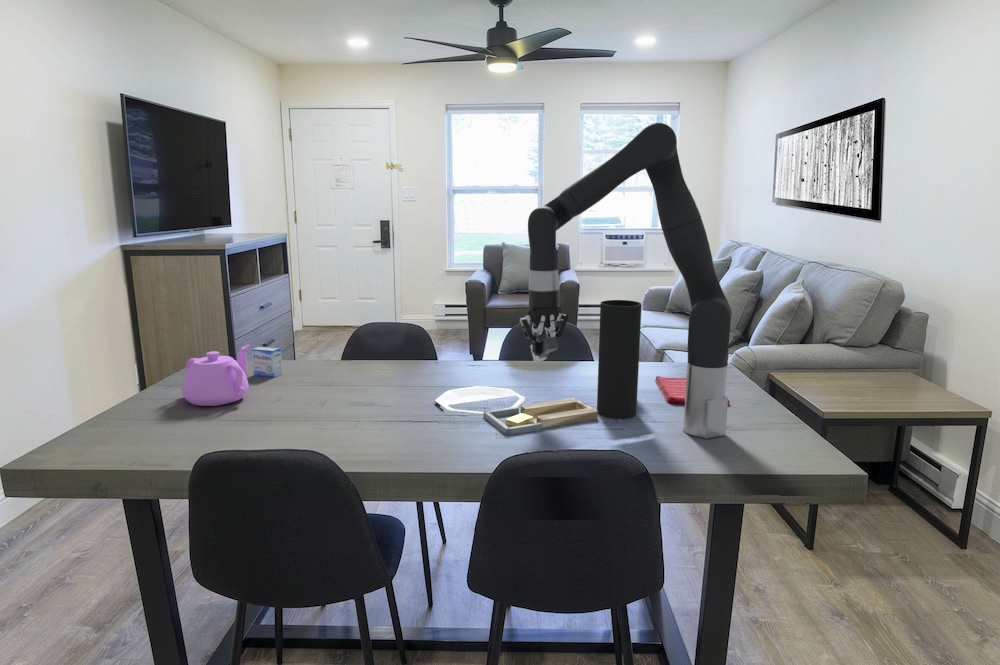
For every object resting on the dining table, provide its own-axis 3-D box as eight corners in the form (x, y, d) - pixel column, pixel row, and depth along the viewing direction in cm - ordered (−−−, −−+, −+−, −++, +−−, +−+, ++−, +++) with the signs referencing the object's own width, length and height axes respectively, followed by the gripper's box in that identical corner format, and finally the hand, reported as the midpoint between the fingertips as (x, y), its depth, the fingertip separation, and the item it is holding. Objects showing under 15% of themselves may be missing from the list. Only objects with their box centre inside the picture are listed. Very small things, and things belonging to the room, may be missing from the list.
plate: (425, 398, 188) (425, 393, 188) (499, 387, 199) (499, 382, 198) (458, 423, 168) (458, 418, 167) (538, 410, 178) (538, 404, 178)
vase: (622, 408, 179) (627, 299, 172) (643, 420, 169) (649, 305, 163) (589, 412, 175) (593, 301, 169) (609, 425, 166) (613, 307, 159)
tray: (542, 433, 160) (542, 423, 159) (506, 439, 156) (506, 429, 156) (517, 415, 172) (517, 406, 172) (483, 420, 169) (483, 411, 168)
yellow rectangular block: (525, 427, 163) (525, 419, 162) (517, 430, 160) (517, 422, 160) (513, 423, 165) (513, 416, 165) (505, 426, 163) (505, 419, 163)
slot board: (597, 422, 167) (598, 411, 167) (542, 431, 161) (542, 419, 160) (573, 408, 178) (573, 397, 178) (520, 416, 172) (520, 405, 171)
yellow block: (533, 424, 165) (533, 416, 164) (525, 427, 163) (525, 419, 162) (521, 420, 168) (521, 413, 167) (513, 423, 165) (513, 415, 165)
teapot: (280, 392, 192) (277, 346, 189) (221, 414, 173) (216, 363, 170) (225, 383, 201) (221, 339, 198) (162, 403, 182) (157, 354, 179)
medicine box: (253, 375, 210) (251, 349, 208) (262, 372, 214) (260, 346, 212) (274, 377, 207) (272, 350, 205) (283, 373, 211) (281, 347, 210)
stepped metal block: (543, 360, 172) (559, 351, 164) (533, 362, 170) (548, 352, 163) (539, 344, 173) (554, 333, 165) (529, 345, 172) (544, 335, 164)
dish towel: (667, 406, 182) (668, 397, 181) (653, 382, 205) (653, 374, 204) (730, 407, 181) (731, 398, 180) (709, 383, 204) (709, 375, 203)
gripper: (526, 291, 158) (526, 361, 162) (575, 287, 165) (574, 354, 168) (511, 287, 165) (512, 354, 169) (560, 284, 171) (559, 348, 175)
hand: (543, 354), depth 168 cm, fingers closed on stepped metal block, 3 cm apart
